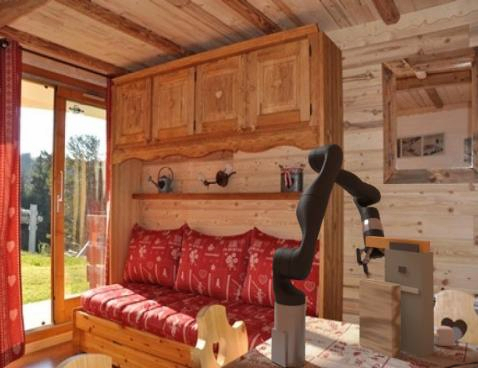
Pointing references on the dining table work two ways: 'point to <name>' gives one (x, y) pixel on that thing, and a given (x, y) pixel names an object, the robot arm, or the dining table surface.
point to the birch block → (380, 316)
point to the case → (413, 295)
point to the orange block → (384, 242)
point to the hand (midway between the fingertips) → (380, 273)
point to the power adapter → (443, 336)
